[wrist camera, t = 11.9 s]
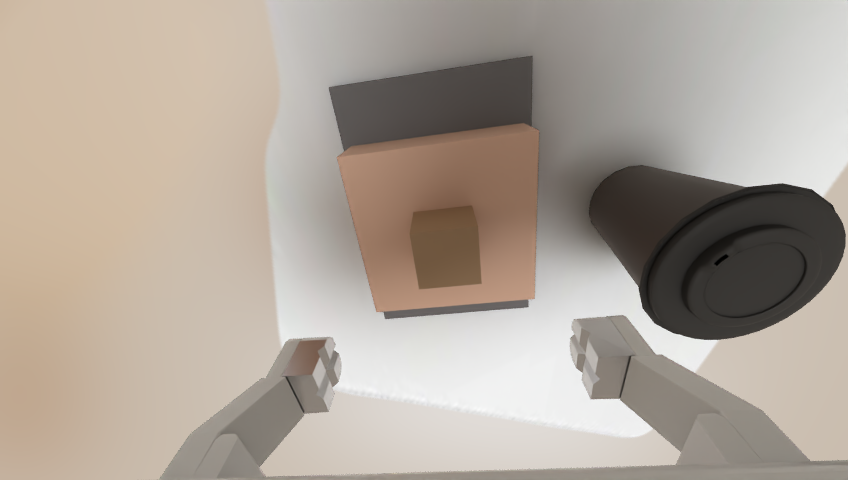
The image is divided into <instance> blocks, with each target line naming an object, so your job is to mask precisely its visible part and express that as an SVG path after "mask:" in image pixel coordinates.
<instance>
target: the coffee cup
mask: <svg viewBox="0 0 848 480" xmlns="http://www.w3.org/2000/svg"><path fill="white" fill-rule="evenodd" d="M589 215H590V218H591V222H592V224H593V225H594V226H595V228H596V229H597V231H598V232H599V233H600V235H601V236H602V237H603V239H604V240H605V241H606V243H607V244H608V246H609V247H610V248H611V250H612V251H613V252H614V254H615V255H616V257H617V258H618V259H619V261H620V262H621V263H622V265H623V266H624V267H625V269H626V270H627V272H628V273H629V274H630V276H631V277H632V278H633V280H634V281H635V283H636V284H637V285H638V287H639V293H640V297H641V302H642V307H643V309H644V310H645V312H646V313H647V314H648V316H649V317H650V318H651V319H652V321H653V322H654V323H655V324H657V325H659V326H661V327H662V328H664V329H666V330H668V331H670V332H672V333H675V334H680V335H683V336H686V337H690V338H694V339H704V340H720V339H727V338H734V337H739V336H744V335H747V334H750V333H753V332H757V331H760V330H762V329H765V328H767V327H769V326H771V325H774V324H776V323H778V322H779V321H782V320H783V319H785V318H787V317H789V316H790V315H792V314H793V313H795V312H796V311H798V310H799V309H801V308H802V307H803V306H804V305H806V304H807V303H808V302H810V301H811V300H812V299H813V298H814V297H815V296H816V295H817V294H818V293H819V292H820V291H821V290H822V289H823V288H824V287H825V286H826V284H827V283H828V282H829V281H830V279H831V278H832V276H833V275H834V273H835V272H836V270H837V268H838V266H839V264H840V262H841V259H842V257H843V253H844V249H845V237H846V234H845V230H844V226H843V223H842V221H841V219H840V218H839V216H838V214H837V213H836V212H835V210H834V207H833V205H832V204H831V203H829V202H828V201H826V200H825V199H824V198H822V197H821V196H820V195H818V194H817V193H816V192H814V191H813V190H812V189H807V188H802V187H797V186H792V185H787V184H783V183H782V184H772V185H763V186H753V187H743V186H738V185H734V184H729V183H724V182H719V181H714V180H710V179H705V178H700V177H695V176H691V175H686V174H681V173H676V172H671V171H667V170H662V169H657V168H652V167H647V166H643V165H640V166H631V167H626V168H624V169H621V170H619V171H616V172H615V173H613V174H612V175H610V176H609V177H608V178H606V179H605V180H604V181H603V182H602V183H601V184H600V185H599V187H598V188H597V189H596V190H595V192H594V194H593V197H592V199H591V201H590V208H589Z"/></svg>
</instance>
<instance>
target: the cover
mask: <svg viewBox="0 0 848 480" xmlns="http://www.w3.org/2000/svg"><path fill="white" fill-rule="evenodd" d="M538 154H539V130H537V129H535V128H533V127H531V126H529V125H527V124H525V123H520V124H512V125H505V126H497V127H490V128H483V129H475V130H468V131H460V132H453V133H446V134H438V135H431V136H423V137H416V138H409V139H401V140H394V141H386V142H379V143H372V144H364V145H357V146H351V147H350V148H348V149H347V150H346V151H344V152H343V153H342V154H340V155H339V156H338V157H337V160H338V164H339V168H340V172H341V176H342V180H343V183H344V187H345V191H346V195H347V199H348V203H349V207H350V211H351V215H352V219H353V222H354V226H355V230H356V234H357V238H358V242H359V246H360V250H361V254H362V258H363V261H364V265H365V269H366V273H367V277H368V281H369V285H370V289H371V293H372V297H373V300H374V304H375V308H376V312H385V311H397V310H409V309H420V308H432V307H444V306H456V305H468V304H480V303H491V302H503V301H515V300H527V299H534V298H535V262H536V226H537V190H538Z"/></svg>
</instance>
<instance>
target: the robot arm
mask: <svg viewBox="0 0 848 480" xmlns="http://www.w3.org/2000/svg"><path fill="white" fill-rule="evenodd" d="M572 330H573V332H574V335H573V336H572V337H571V338H570V352H571V356H572V360H573V362H574V365H575V367H576V368H577V369H578V370H580V371H581V372H582V373H583V374H582V382H583V384H584V386H585V388H586V390H587V392H588V394H589V396H590V399H620V400H621V401H622V402H623V403H624V404H626V405H627V406H628V407H629V408H630V409H631V410H633V411H634V412H635V413H636V414H637V415H638V416H640V417H641V418H642V419H643V420H644V421H645V422H647V423H648V424H649V425H650V426H651V427H652V428H654V429H655V430H656V431H657V432H658V433H659V434H661V435H662V436H663V437H664V438H665V439H666V440H668V441H669V442H670V443H671V444H672V445H673V446H675V447H676V448H677V449H678V450H679V451H680V452H681V454H680V456H679V459H678V461H677V463H676V465H664V466H663V465H661V466H629V467H628V466H626V467H592V468H556V469H524V470H486V471H453V472H418V473H383V474H347V475H312V476H278V477H266V476H265V474H264V473H263V471H262V470H261V469H260V466H261V465H262V464H263V462H264V461H265V460H266V459H267V458H268V457H269V455H270V454H271V453H272V452H273V451H274V450H275V448H276V447H277V446H278V445H279V444H280V443H281V442H282V440H283V439H284V438H285V437H286V436H287V435H288V433H289V432H290V431H291V430H292V429H293V428H294V427H295V425H296V424H297V423H298V422H299V421H300V419H301V418H302V417H303V416H304V414H305V413H319V412H329V410H330V407H331V404H332V400H333V397H334V394H335V393H334V390H333V386H335V385H336V384H337V383H338V382H339V378H340V375H341V358H340V356H339V353H337V352H336V351H334V348H335V345H336V344H335V342H334V340H333V338H332V337H317V338H303V339H289V340H288V341H287V342H286V343H285V345H284V346H283V348H282V350H281V352H280V354H279V355H278V357H277V359H276V361H275V362H274V364H273V366H272V368H271V369H270V371H269V373H268V375H267V377H266V378H261V379H260V380H259V381H257V382H256V383H255V384H254V385H252V386H251V387H250V388H248V389H247V390H246V391H245V392H243V393H242V394H241V395H240V396H238V397H237V398H236V399H234V400H233V401H232V402H231V403H230V404H228V405H227V406H225V407H224V408H223V409H222V410H220V411H219V412H218V413H216V414H215V415H214V416H213V417H211V418H210V419H209V420H207V421H206V422H205V423H204V424H202V425H201V426H200V427H198V428H197V429H196V430H195V431H193V432H192V433H191V434H190V435H189V436H188V438H187V439H186V441H185V442H184V444H183V445H182V446H181V448H180V450H179V451H178V452H177V454H176V455H175V457H174V458H173V460H172V461H171V463H170V464H169V465H168V467H167V468H166V470H165V471H164V473H163V474H162V476H161V477H160V479H159V480H848V460H841V461H839V460H838V461H810V460H809V459H808V458H807V457H806V456H805V455H804V454H803V453H802V452H801V451H800V450H799V448H798V447H797V446H796V445H795V444H794V443H793V442H792V441H791V440H790V439H789V438H788V437H787V436H786V435H785V434H784V433H783V432H782V431H781V430H780V429H779V428H778V427H777V426H776V424H775V423H774V422H773V421H772V420H771V419H770V418H769V417H768V416H767V415H766V414H765V413H764V412H763V411H762V410H761V409H759V408H757V407H755V406H753V405H752V404H750V403H748V402H746V401H744V400H742V399H741V398H739V397H737V396H735V395H733V394H732V393H730V392H728V391H726V390H724V389H723V388H720V387H719V386H717V385H715V384H714V383H712V382H710V381H708V380H706V379H705V378H703V377H701V376H699V375H697V374H696V373H694V372H692V371H690V370H688V369H686V368H685V367H683V366H681V365H679V364H677V363H676V362H674V361H672V360H670V359H668V358H667V357H665V356H663V355H656V354H655V353H654V352H653V350H652V349H651V348H650V347H649V345H648V344H647V343H646V341H645V340H644V339H643V338H642V336H641V335H640V334H639V333H638V331H637V330H636V329H635V327H634V326H633V325H632V324H631V322H630V321H629V320H628V318H627V317H625V316H624V315H619V316H607V317H596V318H583V319H574V320H573V322H572Z"/></svg>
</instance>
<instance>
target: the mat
mask: <svg viewBox="0 0 848 480" xmlns="http://www.w3.org/2000/svg"><path fill="white" fill-rule="evenodd" d="M329 91H330V95H331V99H332V104H333V108H334V112H335V116H336V120H337V124H338V128H339V132H340V136H341V140H342V144H343V148H344V151H346V150H347V149H348V148H350V147H351V146H357V145H364V144H372V143H379V142H386V141H394V140H401V139H409V138H416V137H423V136H431V135H438V134H446V133H453V132H460V131H468V130H475V129H483V128H490V127H497V126H505V125H512V124H520V123H525V124H527V125H529V126H531V109H532V56H528V57H522V58H515V59H509V60H502V61H496V62H489V63H483V64H476V65H470V66H464V67H457V68H451V69H444V70H438V71H431V72H425V73H418V74H412V75H405V76H399V77H393V78H386V79H380V80H373V81H367V82H360V83H354V84H347V85H341V86H335V87H329ZM524 307H528V299H527V300H515V301H503V302H491V303H480V304H468V305H456V306H444V307H432V308H420V309H409V310H397V311H385V312H384V316H385V319H392V318H404V317H416V316H428V315H440V314H452V313H464V312H476V311H488V310H500V309H512V308H524Z"/></svg>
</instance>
